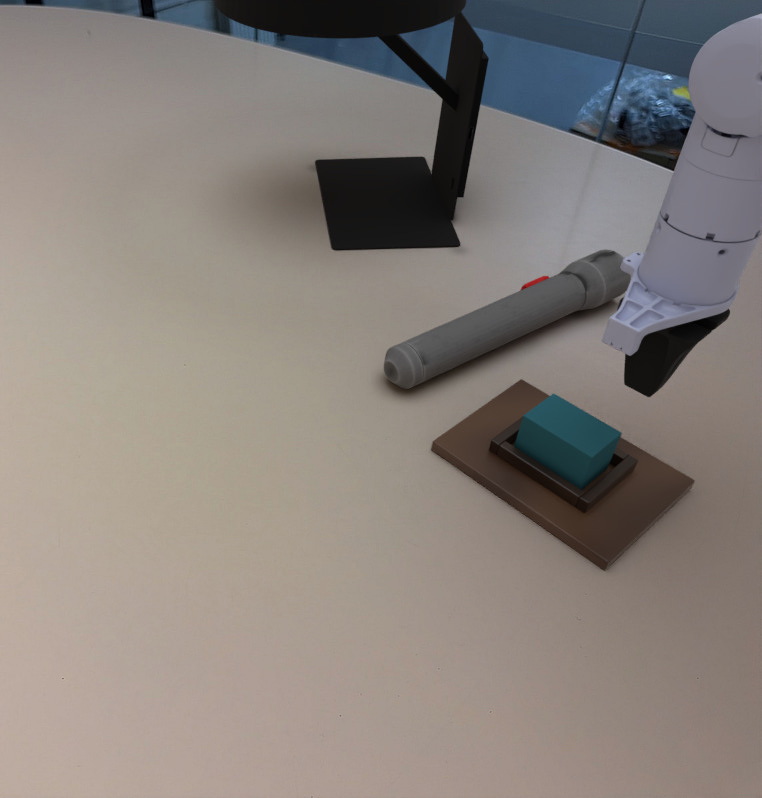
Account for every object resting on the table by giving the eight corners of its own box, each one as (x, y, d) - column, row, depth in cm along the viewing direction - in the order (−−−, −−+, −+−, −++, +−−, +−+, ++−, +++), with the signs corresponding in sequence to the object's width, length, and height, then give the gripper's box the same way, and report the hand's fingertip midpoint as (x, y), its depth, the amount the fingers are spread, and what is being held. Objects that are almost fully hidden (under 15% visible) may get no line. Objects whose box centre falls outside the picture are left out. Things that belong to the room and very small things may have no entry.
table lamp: (477, 254, 89) (570, -194, 62) (222, 261, 89) (204, -181, 63) (432, 151, 108) (488, -226, 81) (221, 158, 108) (208, -216, 82)
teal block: (607, 468, 64) (622, 432, 61) (578, 493, 62) (592, 457, 59) (541, 428, 67) (553, 392, 65) (512, 451, 66) (523, 415, 63)
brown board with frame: (691, 488, 63) (701, 469, 62) (604, 570, 58) (613, 552, 56) (518, 387, 73) (524, 368, 71) (430, 449, 67) (434, 430, 66)
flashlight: (395, 406, 73) (366, 360, 75) (611, 304, 83) (582, 265, 84) (417, 383, 69) (386, 335, 70) (643, 279, 78) (612, 238, 80)
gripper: (705, 160, 55) (643, 322, 64) (584, 235, 48) (533, 403, 58) (815, 197, 51) (732, 364, 60) (699, 284, 44) (625, 457, 53)
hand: (641, 386), depth 59 cm, fingers closed
